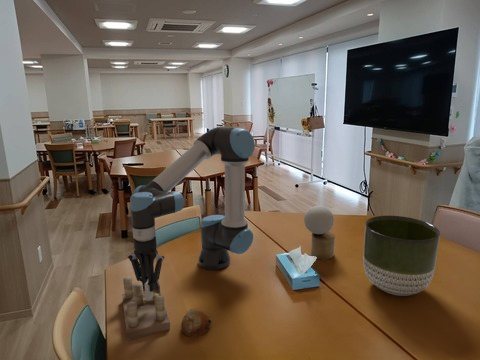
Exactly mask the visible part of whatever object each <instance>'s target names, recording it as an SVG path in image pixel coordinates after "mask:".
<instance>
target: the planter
mask: <svg viewBox="0 0 480 360" xmlns="http://www.w3.org/2000/svg"><path fill="white" fill-rule="evenodd" d="M364 224H365V225H364V234H363V235H364V237H363V255H362V264H363V269H364V272H365V274H366V277H367V279H368V280H369V281H370V282H371V283H372V285H374V286H375V287H376V288H377V289H379V290H381V291H383V292H385V293H387V294H390V295H393V296H398V297H400V296H401V297H403V296H405V297H406V296H407V297H408V296H413V295H416V294H419V293H421V292H422V291H425V289H427V287H428V286H429V285H430V283H431V282H432V279H433V278H434V274H435V271H436V263H437V256H438V252H439V244H440V239H441V231H440V229H438V228H437V226H436V225H435V226H434V225H433V224H432V223H429V222H427V221H424V220H421V219H418V218H413V217H410V216H409V217H407V216H402V215H401V216H400V215H377V216H373V217H371V218H368V219H367V220H366V221H365V223H364Z"/></svg>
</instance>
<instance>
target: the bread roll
mask: <svg viewBox="0 0 480 360" xmlns="http://www.w3.org/2000/svg"><path fill="white" fill-rule="evenodd" d="M211 323H212V320H211V316H210V314H208V313H207V312H204V311H202V310H199V309H196V308H192V309H189V311H187V312H186V313H185V314H184V315H183V318H182V321H181V325H180V329H181V332H182V333H183V334H184V335H185V336H187V337H198V336H201V335H204V334H206V333H207V332H208V331H209V330H210V328H211Z"/></svg>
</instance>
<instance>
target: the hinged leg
mask: <svg viewBox="0 0 480 360" xmlns="http://www.w3.org/2000/svg"><path fill="white" fill-rule="evenodd" d="M133 292H134V302H136V303H137V306H138V305H142V304H143V303H147V302H152V301H155V300H154V299H155V297H157V296H159V294H158V293H154V294H153V297H152V299H151V300H150V301H147V300H146V297H145V298H143V284H142V282H134V283H133Z"/></svg>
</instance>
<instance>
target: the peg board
mask: <svg viewBox="0 0 480 360" xmlns="http://www.w3.org/2000/svg"><path fill="white" fill-rule="evenodd" d="M122 280H123V282H122V283H123V290H124V293H122V295H121V297H122V305H123V314H124V315H123V316H124V322H125V332H126V340H127V341H130V340H134V339H139V338H142V337H146V336H150V335H153V334H154V335H155V334H157V333H161V332H166V331H170V330H171V325H170V324H171V323H170V319H169V316H168V313H167V310H166V306H165V297H164V296H163V295H162V294H161V286H160V282H159V280H158V281H157V282H156V283H154V288H155V289H154V290H153V294H154V293H158V294H159V296H157V297H155V299H154V300H155V301H152V302H147V303H143V304H142V305H138V306H137V303H136V302H134V292H133V284H134V283H133V277H132V276H125V277H123V278H122ZM143 298H145V291H143Z"/></svg>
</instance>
